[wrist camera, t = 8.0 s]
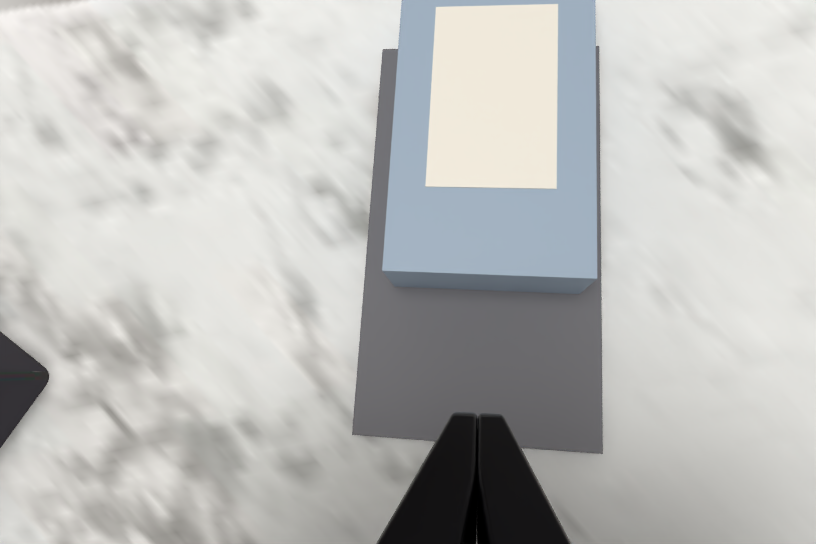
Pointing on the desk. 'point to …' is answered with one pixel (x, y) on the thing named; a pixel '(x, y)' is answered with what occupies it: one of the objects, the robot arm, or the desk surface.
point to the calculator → (17, 384)
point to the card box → (494, 147)
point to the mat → (474, 341)
